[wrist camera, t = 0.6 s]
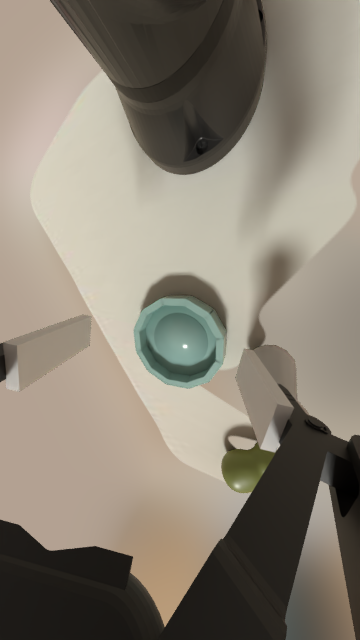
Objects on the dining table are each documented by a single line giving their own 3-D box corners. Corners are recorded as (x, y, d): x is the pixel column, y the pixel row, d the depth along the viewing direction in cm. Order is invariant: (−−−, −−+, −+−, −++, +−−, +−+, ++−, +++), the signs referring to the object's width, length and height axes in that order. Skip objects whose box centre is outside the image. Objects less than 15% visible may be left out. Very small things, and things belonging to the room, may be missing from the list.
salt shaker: (242, 342, 27) (237, 401, 15) (287, 335, 24) (322, 399, 13) (251, 378, 28) (253, 460, 16) (295, 375, 25) (335, 468, 14)
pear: (214, 476, 28) (276, 455, 25) (215, 447, 33) (267, 426, 30) (234, 506, 28) (298, 488, 25) (232, 473, 33) (285, 454, 30)
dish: (164, 278, 28) (155, 279, 25) (245, 327, 26) (244, 335, 23) (133, 346, 34) (123, 353, 31) (197, 391, 32) (192, 403, 29)
